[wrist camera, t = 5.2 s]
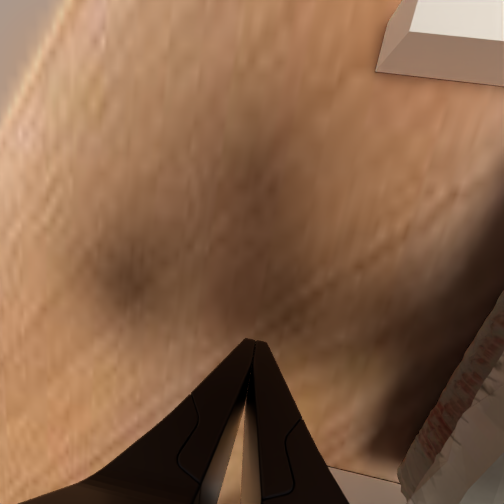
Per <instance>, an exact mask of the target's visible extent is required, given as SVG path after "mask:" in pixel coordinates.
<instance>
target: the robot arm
mask: <svg viewBox="0 0 504 504" xmlns="http://www.w3.org/2000/svg"><path fill="white" fill-rule="evenodd" d="M255 343H256V344H255ZM254 349H255V350H254ZM253 355H254V356H253ZM252 361H253V362H252ZM251 367H252V368H251ZM250 373H251V374H250ZM249 379H250V380H249ZM248 385H249V386H248ZM247 391H248V392H247ZM246 397H247V398H246ZM245 402H246V405H245ZM244 406H245V421H244V441H243V461H242V480H241V500H240V504H350V503H349V502H348V500H347V498H346V497H345V495H344V493H343V492H342V490H341V488H340V487H339V485H338V483H337V482H336V480H335V478H334V477H333V475H332V473H331V472H330V470H329V468H328V466H327V465H326V463H325V461H324V459H323V458H322V456H321V454H320V452H319V451H318V449H317V447H316V445H315V443H314V441H313V439H312V437H311V435H310V433H309V431H308V429H307V427H306V424H305V422H304V420H303V419H302V416H301V414H300V412H299V410H298V408H297V405H296V403H295V401H294V399H293V397H292V395H291V393H290V390H289V388H288V386H287V384H286V382H285V380H284V378H283V376H282V373H281V371H280V369H279V367H278V365H277V363H276V361H275V358H274V356H273V354H272V352H271V350H270V348H269V346H268V344H267V342H263V341H258V340H257V341H255V340H253V339H248V338H245V339H244V340H243V341H242V342H241V343H240V344H239V345H238V346H237V347H236V348H235V349H234V350H233V351H232V352H231V353H230V354H229V355H228V356H227V357H226V358H225V359H224V360H223V361H222V362H221V363H220V364H219V365H218V366H217V367H216V368H215V369H214V370H213V371H212V372H211V373H210V374H209V375H208V376H207V377H206V378H205V379H204V380H203V381H202V382H201V383H200V384H199V385H198V386H197V387H196V388H195V389H194V390H193V391H192V392H191V395H190V394H189V395H188V396H187V397H186V398H185V399H184V400H183V401H182V402H181V403H180V404H179V405H178V406H177V407H176V408H175V409H174V410H173V411H172V412H171V413H170V414H169V415H168V416H166V417H165V418H164V419H163V420H162V421H160V422H159V423H158V424H157V425H156V426H154V427H153V428H152V429H151V430H150V431H148V432H147V433H146V434H145V435H143V436H142V437H141V438H140V439H138V440H137V441H136V442H135V443H134V444H132V445H131V446H130V447H129V448H127V449H126V450H125V451H124V452H122V453H121V454H120V455H119V456H117V457H116V458H115V459H114V460H112V461H111V462H110V463H109V464H107V465H106V466H105V467H103V468H102V469H101V470H99V471H98V472H96V473H95V474H93V475H91V476H90V477H88V478H86V479H84V480H82V481H80V482H78V483H76V484H73V485H70V486H67V487H64V488H62V489H59V490H56V491H53V492H50V493H47V494H44V495H41V496H38V497H36V498H33V499H30V500H27V501H24V502H21V503H18V504H217V500H218V497H219V493H220V490H221V487H222V483H223V480H224V476H225V473H226V469H227V466H228V462H229V459H230V455H231V452H232V448H233V445H234V442H235V438H236V435H237V431H238V428H239V424H240V421H241V417H242V414H243V410H244Z"/></svg>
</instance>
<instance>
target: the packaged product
mask: <svg viewBox="0 0 504 504" xmlns="http://www.w3.org/2000/svg"><path fill="white" fill-rule="evenodd" d="M397 475H398V479H399V482H400V484H401V493H402V494H403V495H404V496H405V498H406V500H407V503H406V504H504V290H503V292H502V293H501V295H500V296H499V298H498V300H497V302H496V304H495V307H494V309H493V310H492V311H491V313H490V314H489V315H488V317H487V318H486V319H485V321H484V323H483V325H482V327H481V328H480V329H479V331H478V333H477V335H476V336H475V338H474V340H473V341H472V343H471V344H470V346H469V347H468V349H467V350H466V352H465V353H464V358H463V359H462V361H461V362H460V364H459V365H458V366H457V368H456V369H455V371H454V372H453V374H452V376H451V378H450V380H449V382H448V383H447V386H446V387H445V389H444V390H443V391H442V393H441V395H440V398H439V400H438V402H437V404H436V406H435V407H434V408H433V409H432V410H431V411H430V414H429V416H428V418H427V419H426V421H425V423H424V425H423V427H422V429H420V431H419V434H417V435H416V438H415V440H414V441H413V442H412V444H411V445H410V448H409V449H408V452H407V454H406V456H405V458H404V460H403V461H402V464H401V465H400V466H399V467H398V471H397Z"/></svg>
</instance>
